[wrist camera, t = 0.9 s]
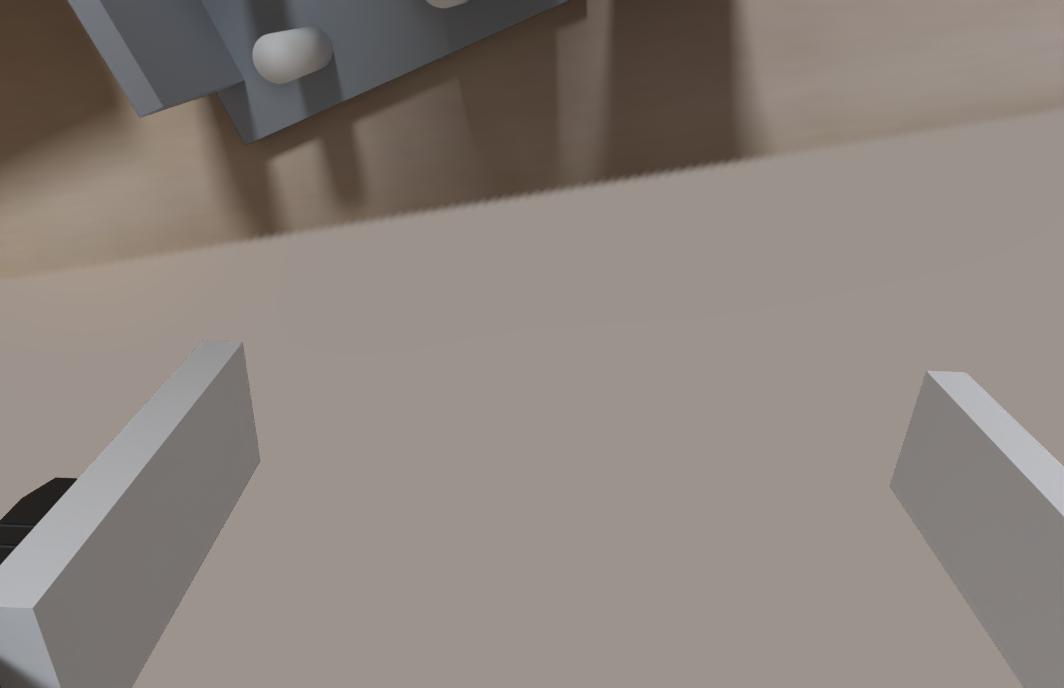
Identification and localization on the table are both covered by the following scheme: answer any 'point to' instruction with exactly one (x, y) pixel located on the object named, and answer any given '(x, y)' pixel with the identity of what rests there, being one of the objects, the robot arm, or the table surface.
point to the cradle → (280, 49)
